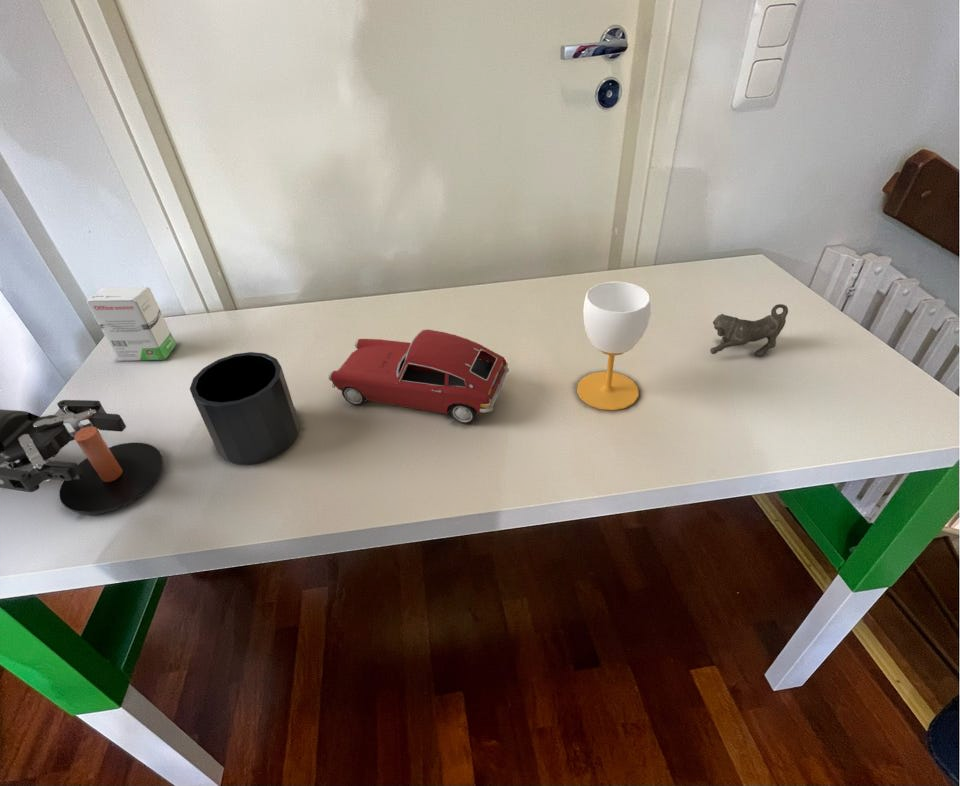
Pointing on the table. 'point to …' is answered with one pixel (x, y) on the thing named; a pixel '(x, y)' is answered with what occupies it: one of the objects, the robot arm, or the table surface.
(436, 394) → the toy car
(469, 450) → the table surface
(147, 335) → the ink box
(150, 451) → the lid
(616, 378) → the cup
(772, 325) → the dog figurine
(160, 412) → the table surface
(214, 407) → the canister
